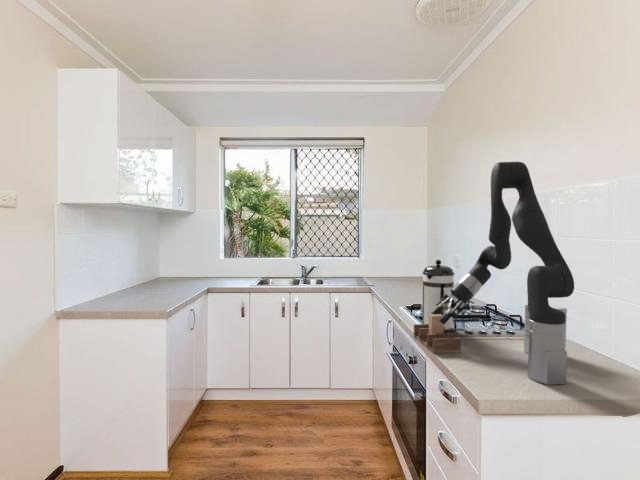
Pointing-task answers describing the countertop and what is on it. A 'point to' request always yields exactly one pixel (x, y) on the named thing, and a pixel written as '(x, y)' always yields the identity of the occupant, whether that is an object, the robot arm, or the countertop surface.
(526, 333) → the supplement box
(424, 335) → the drying rack
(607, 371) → the countertop surface
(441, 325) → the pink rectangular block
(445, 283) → the coffee press
